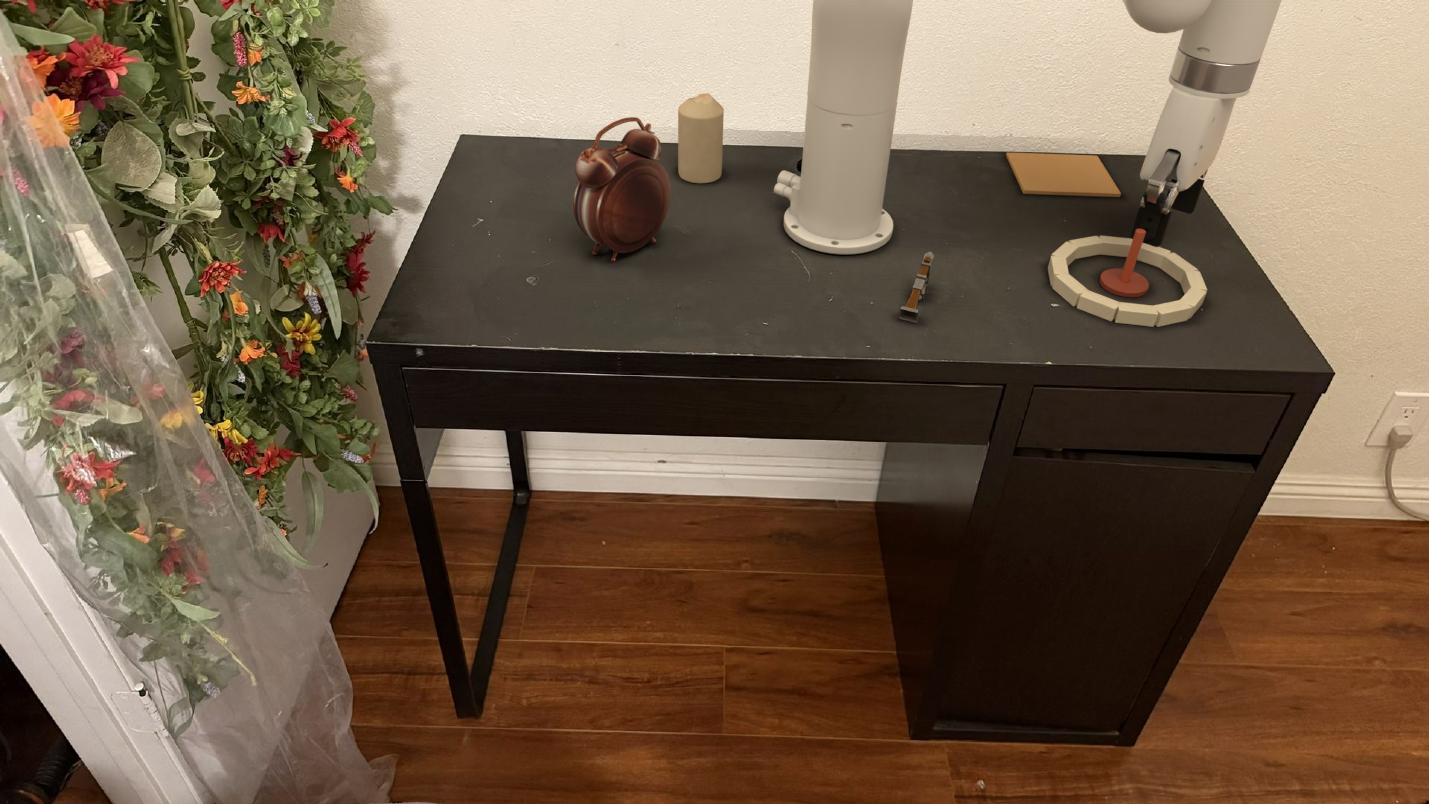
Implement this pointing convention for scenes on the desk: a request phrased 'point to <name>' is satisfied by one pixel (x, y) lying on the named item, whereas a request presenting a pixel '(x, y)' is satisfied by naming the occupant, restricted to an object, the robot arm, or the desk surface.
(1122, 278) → the post
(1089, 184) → the mat
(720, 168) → the candle
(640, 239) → the alarm clock
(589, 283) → the desk surface
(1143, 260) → the ring
